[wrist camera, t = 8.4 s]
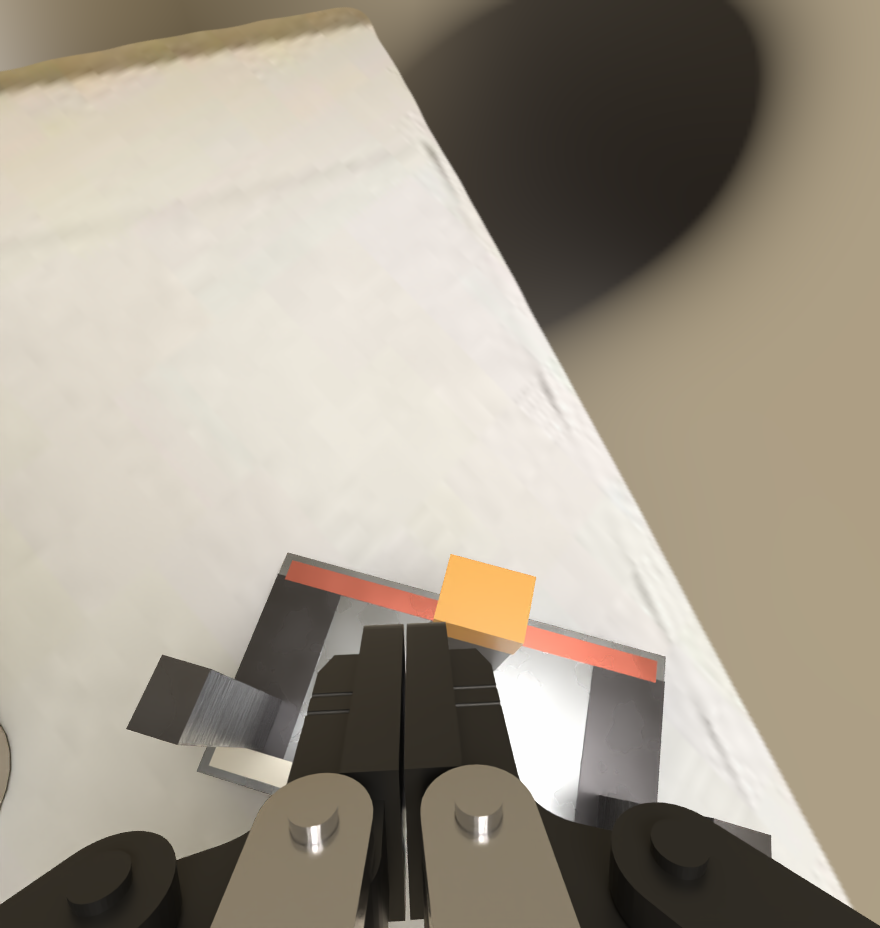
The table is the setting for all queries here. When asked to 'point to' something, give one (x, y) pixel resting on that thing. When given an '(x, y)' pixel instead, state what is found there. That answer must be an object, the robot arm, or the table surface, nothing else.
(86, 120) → the table surface
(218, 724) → the pillared base stand
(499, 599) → the lever
